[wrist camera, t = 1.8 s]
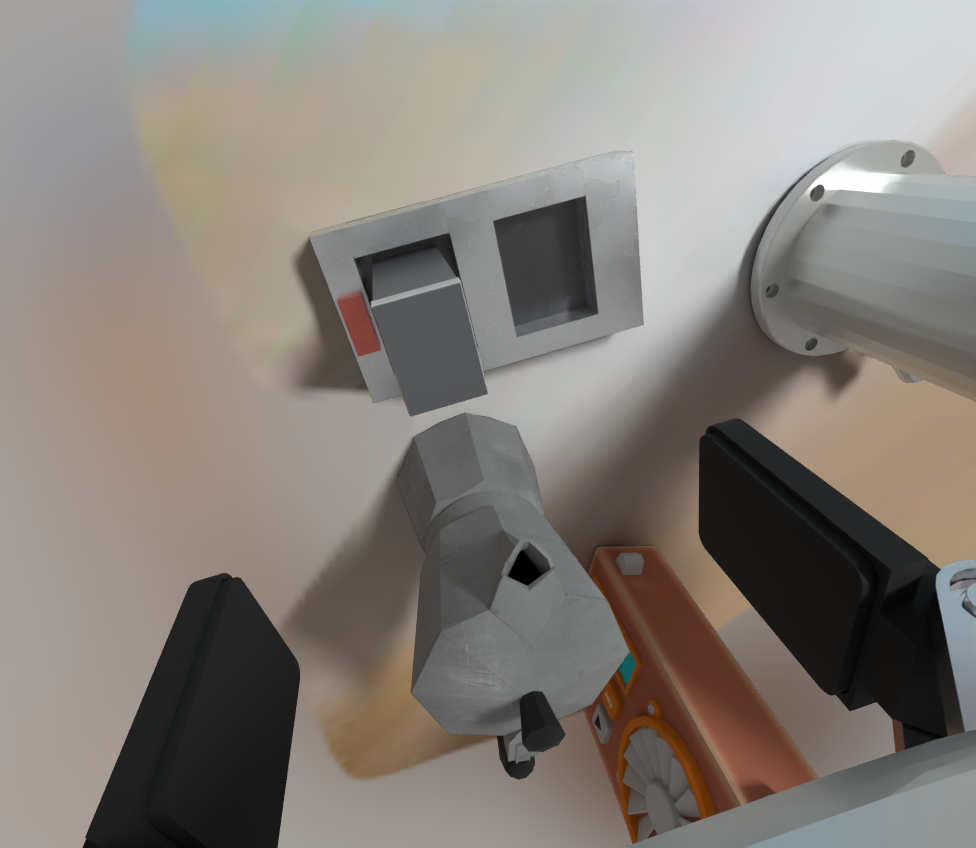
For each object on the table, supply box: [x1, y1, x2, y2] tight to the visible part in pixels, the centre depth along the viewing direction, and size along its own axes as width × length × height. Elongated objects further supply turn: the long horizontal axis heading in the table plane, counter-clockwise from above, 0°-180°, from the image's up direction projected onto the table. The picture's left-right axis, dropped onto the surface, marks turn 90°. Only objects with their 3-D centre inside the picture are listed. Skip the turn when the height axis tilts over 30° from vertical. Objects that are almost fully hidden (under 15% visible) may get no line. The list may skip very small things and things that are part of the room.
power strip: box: [309, 151, 644, 403], centre depth 27 cm, size 16×9×2 cm, turn 103°
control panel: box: [583, 546, 819, 844], centre depth 34 cm, size 21×7×15 cm
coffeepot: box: [397, 413, 630, 779], centre depth 27 cm, size 15×9×18 cm, turn 0°
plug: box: [371, 245, 488, 416], centre depth 24 cm, size 4×5×8 cm
